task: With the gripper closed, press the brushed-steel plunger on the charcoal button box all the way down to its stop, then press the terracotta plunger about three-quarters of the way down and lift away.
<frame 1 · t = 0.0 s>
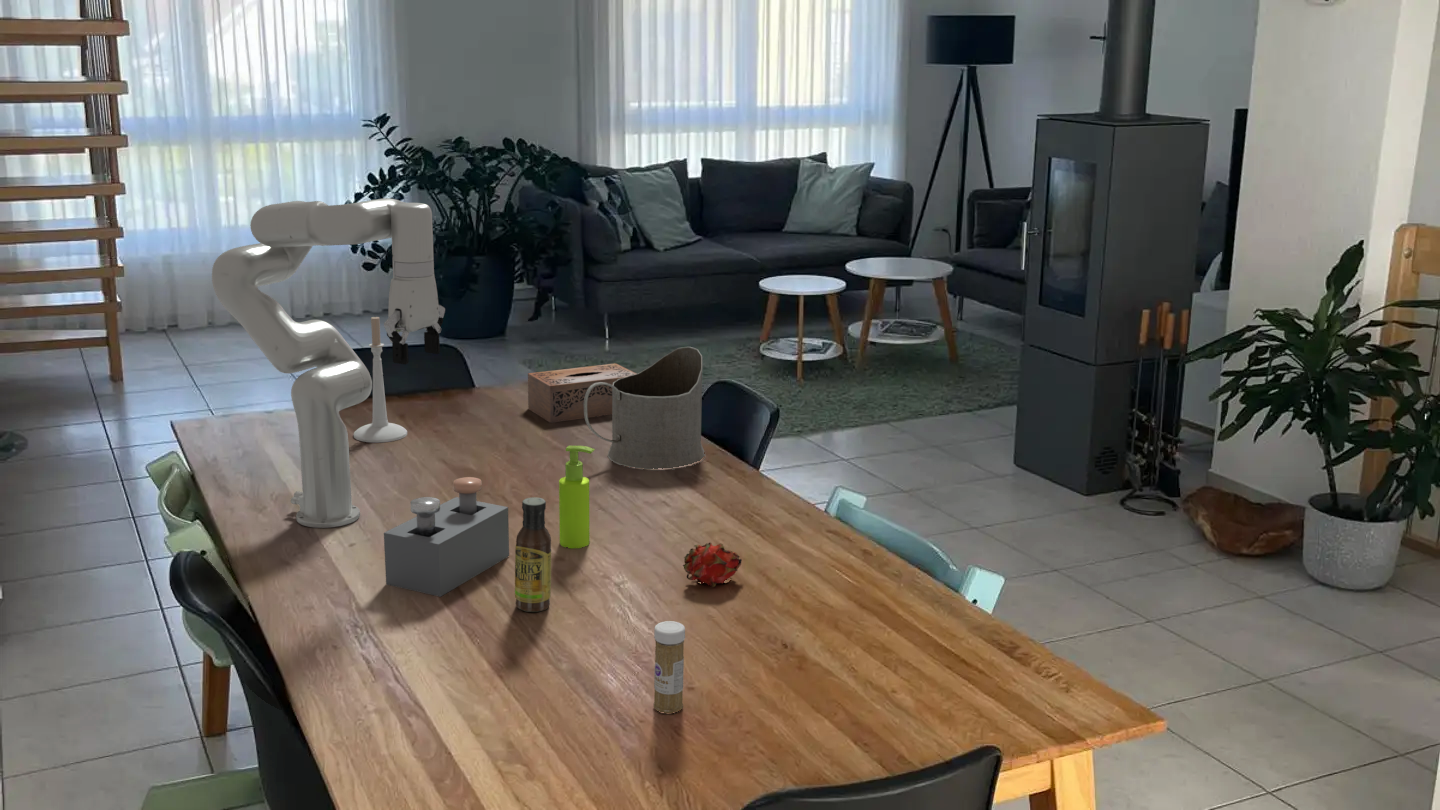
hand: (416, 358, 263), 37 cm above the table, tool pointing down, fingers open, 9 cm apart
pitcher: (641, 458, 326), on the table
button box: (449, 569, 258), on the table
tissue box cover: (584, 411, 365), on the table
terracotta plunger: (467, 500, 260), point 12 cm above the table, slide at 0.0 cm
soap dispenser: (577, 544, 272), on the table
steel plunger: (425, 521, 249), point 12 cm above the table, slide at 0.0 cm
dragon fruit: (712, 583, 255), on the table
candlestick: (380, 435, 339), on the table
sauce bottle: (533, 608, 242), on the table
sprinkles bottle: (668, 709, 208), on the table
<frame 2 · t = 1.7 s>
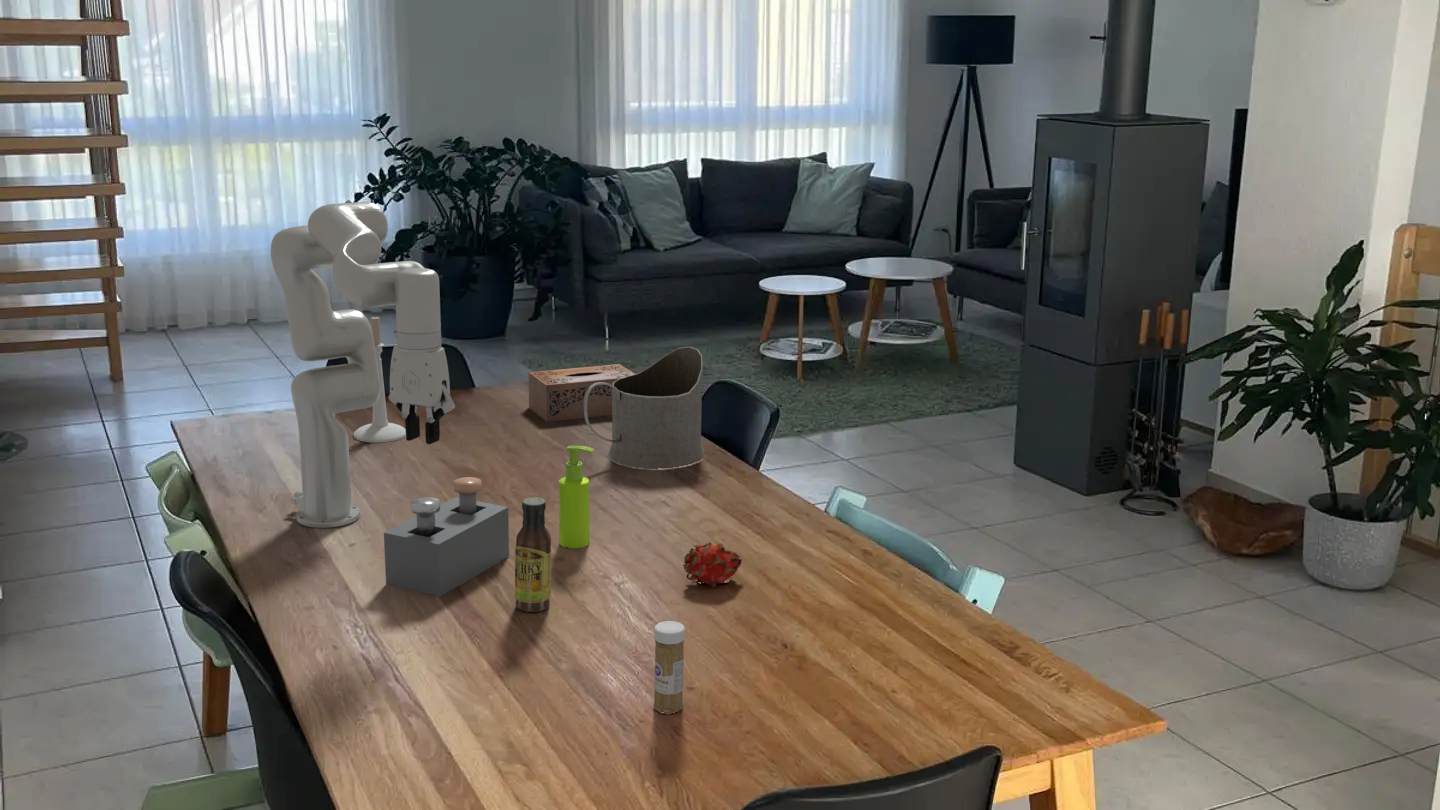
hand: (422, 439, 245), 27 cm above the table, tool pointing down, fingers open, 3 cm apart
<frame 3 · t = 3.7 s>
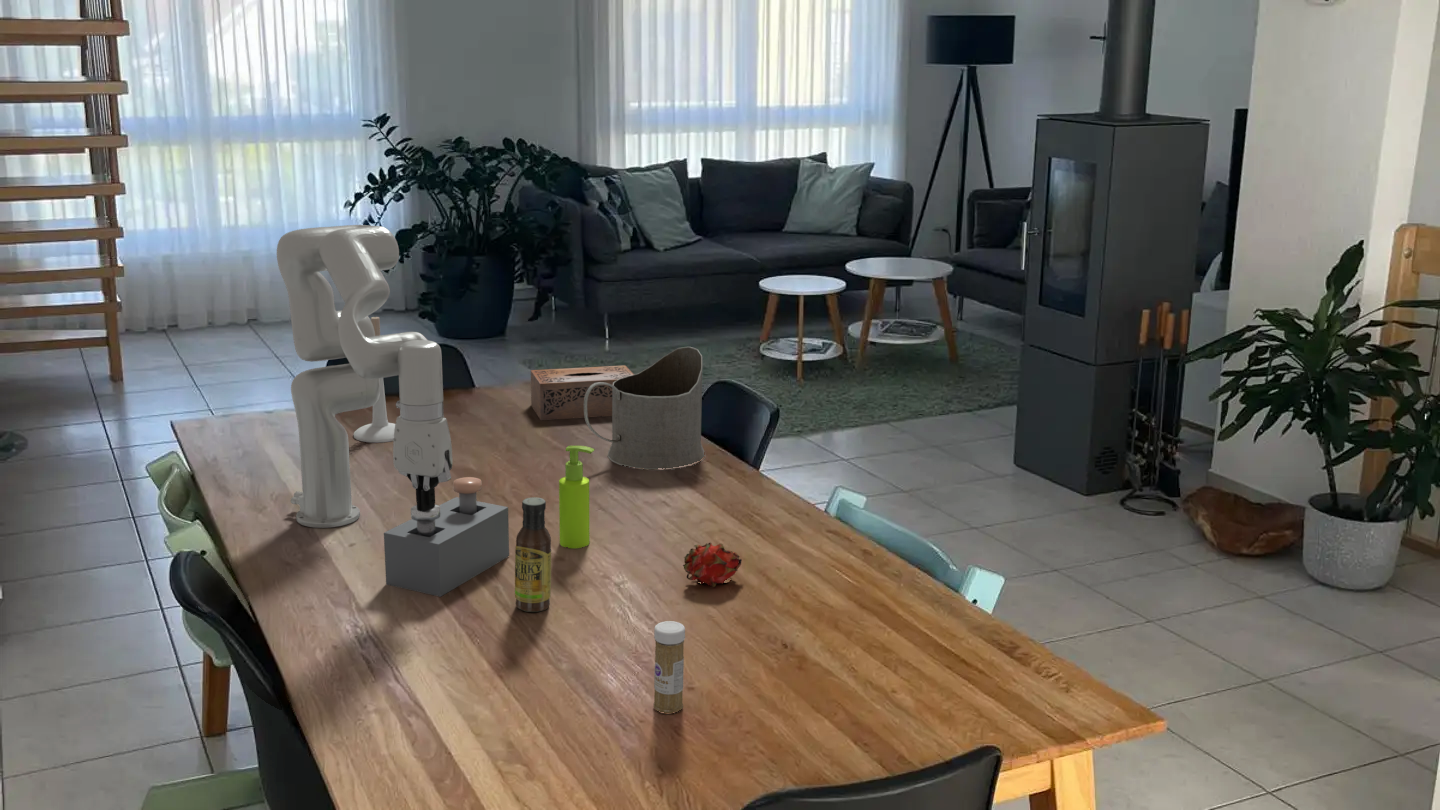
hand: (426, 508, 248), 14 cm above the table, tool pointing down, fingers closed
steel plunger: (426, 527, 249), point 11 cm above the table, slide at 1.3 cm, touching gripper
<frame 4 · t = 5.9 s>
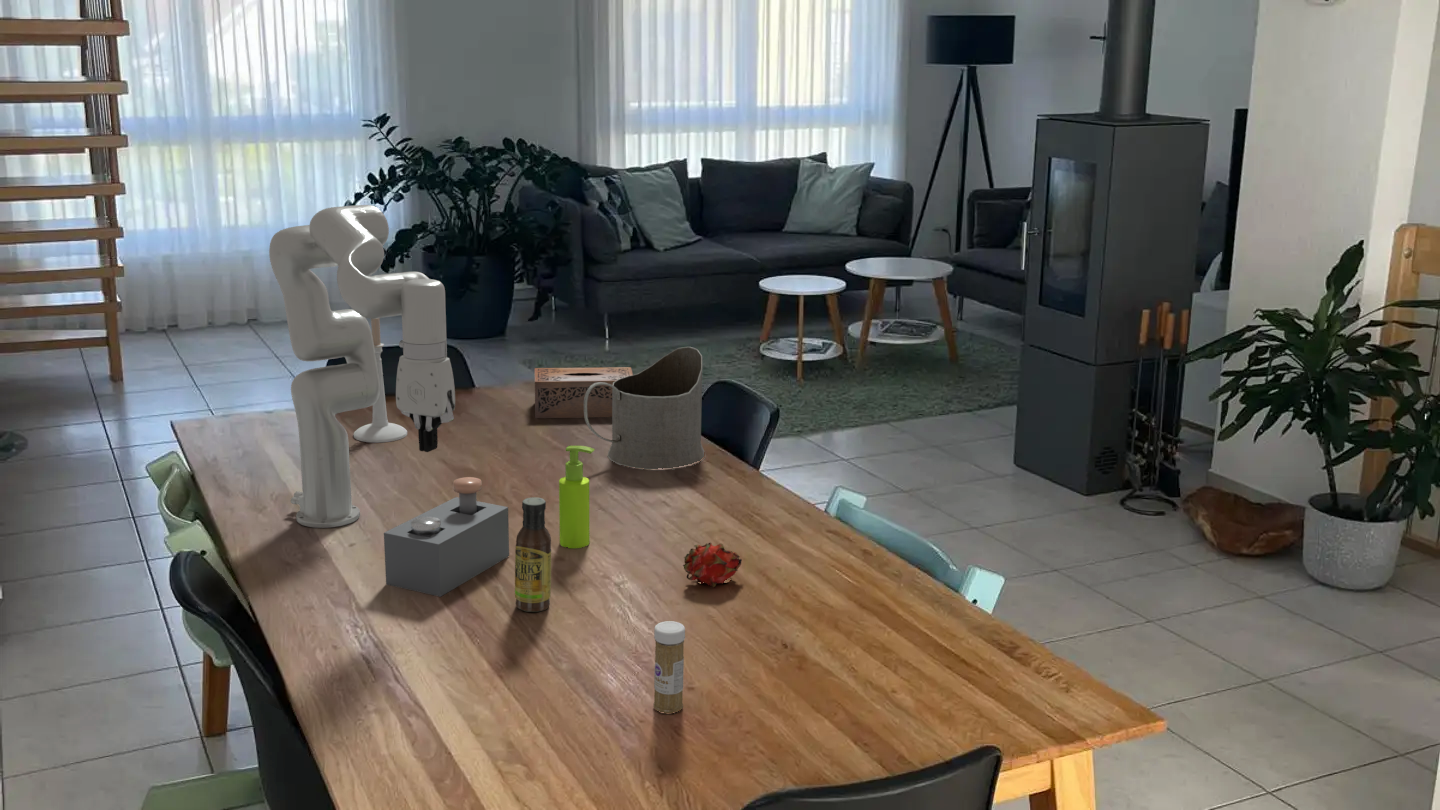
hand: (428, 449, 247), 25 cm above the table, tool pointing down, fingers closed
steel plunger: (426, 541, 250), point 8 cm above the table, slide at 3.8 cm
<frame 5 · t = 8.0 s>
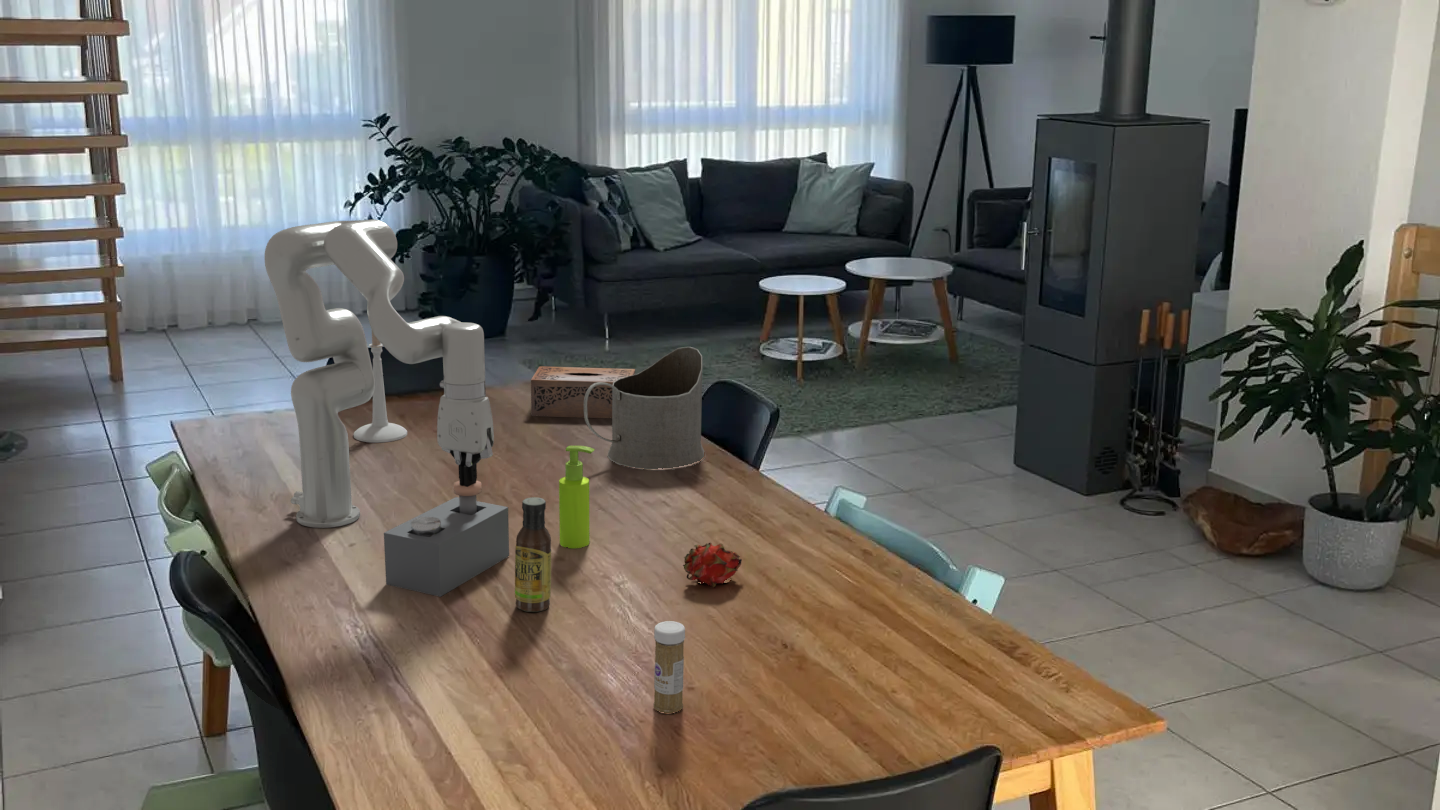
hand: (468, 483, 259), 15 cm above the table, tool pointing down, fingers closed
terracotta plunger: (468, 502, 260), point 11 cm above the table, slide at 0.5 cm, touching gripper
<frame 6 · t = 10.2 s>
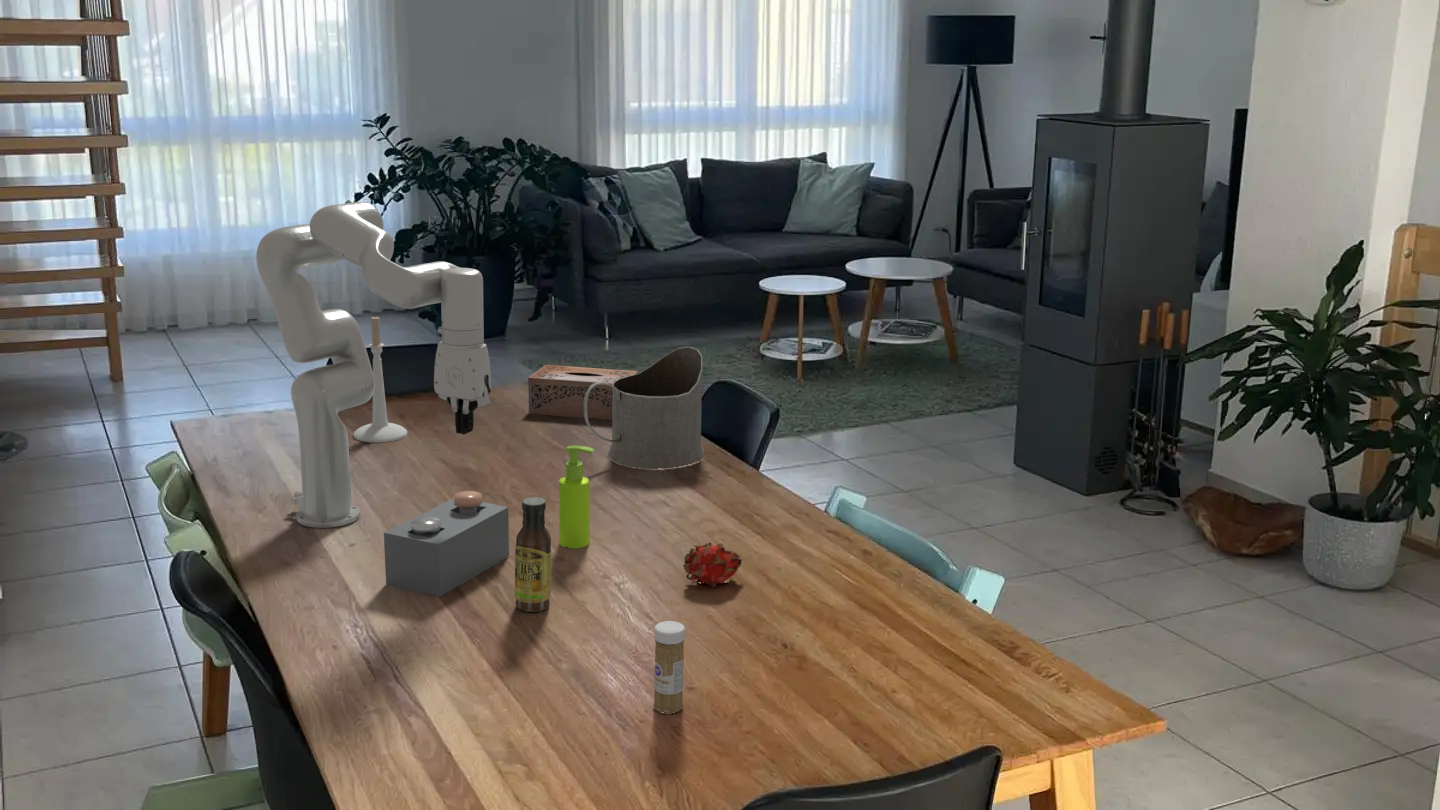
hand: (464, 431, 257), 25 cm above the table, tool pointing down, fingers closed
terracotta plunger: (468, 514, 261), point 9 cm above the table, slide at 2.8 cm
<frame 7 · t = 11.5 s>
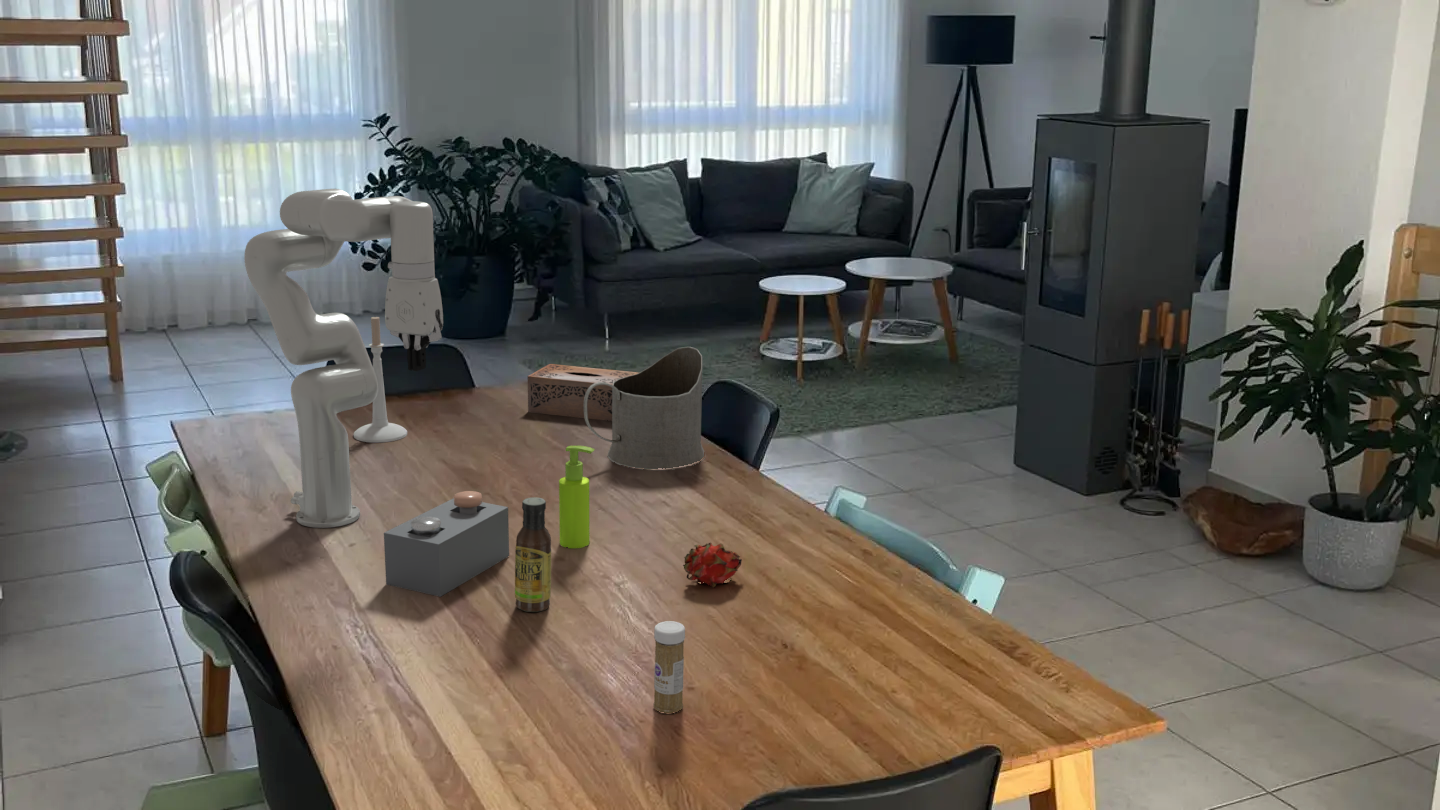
hand: (417, 369, 254), 37 cm above the table, tool pointing down, fingers closed
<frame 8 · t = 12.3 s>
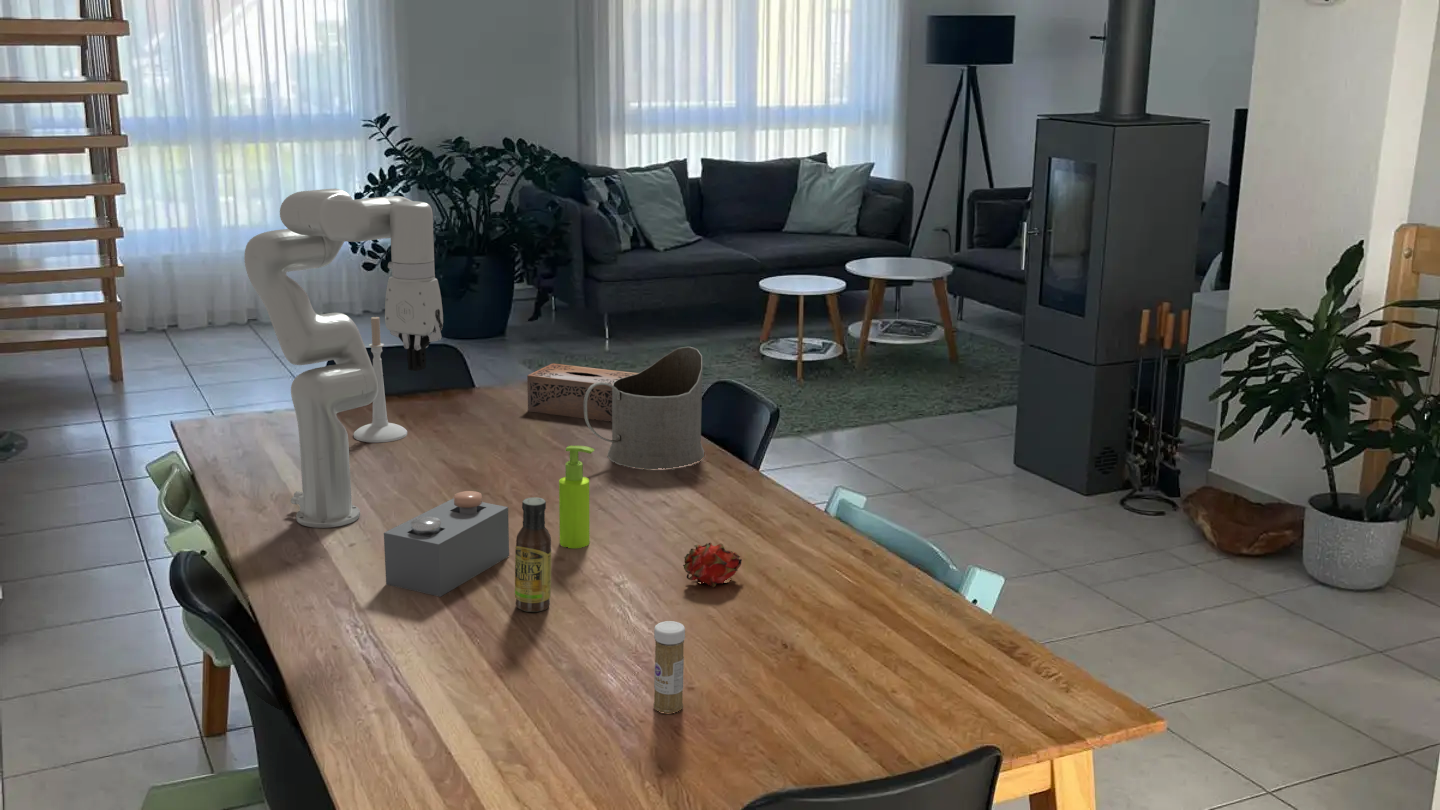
hand: (417, 369, 254), 37 cm above the table, tool pointing down, fingers closed
at the end: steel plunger slide at 3.8 cm; terracotta plunger slide at 2.8 cm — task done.
